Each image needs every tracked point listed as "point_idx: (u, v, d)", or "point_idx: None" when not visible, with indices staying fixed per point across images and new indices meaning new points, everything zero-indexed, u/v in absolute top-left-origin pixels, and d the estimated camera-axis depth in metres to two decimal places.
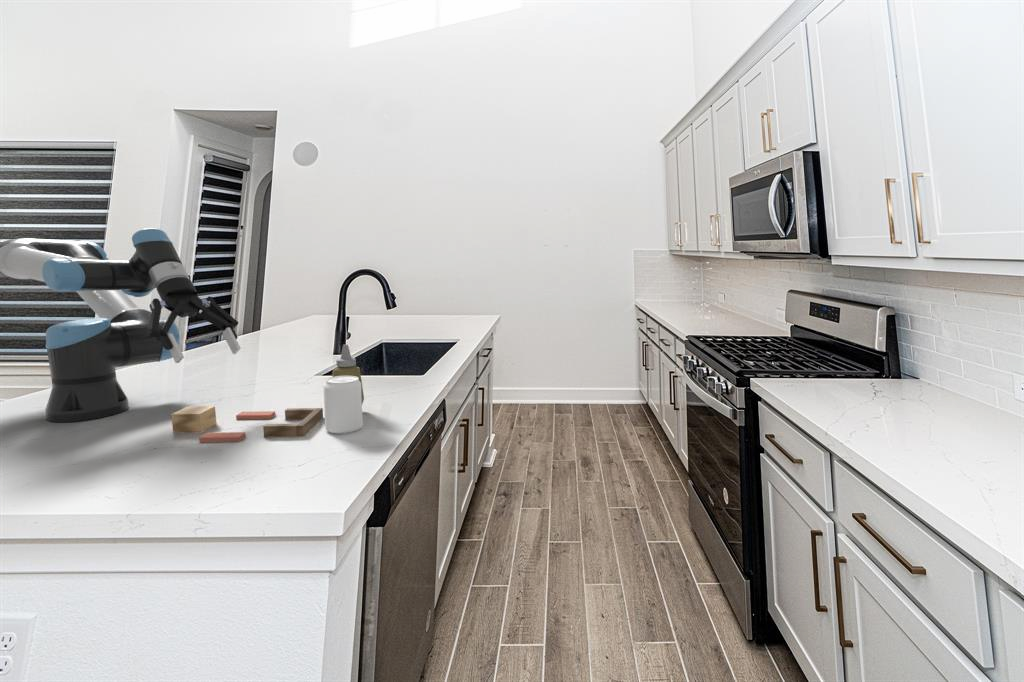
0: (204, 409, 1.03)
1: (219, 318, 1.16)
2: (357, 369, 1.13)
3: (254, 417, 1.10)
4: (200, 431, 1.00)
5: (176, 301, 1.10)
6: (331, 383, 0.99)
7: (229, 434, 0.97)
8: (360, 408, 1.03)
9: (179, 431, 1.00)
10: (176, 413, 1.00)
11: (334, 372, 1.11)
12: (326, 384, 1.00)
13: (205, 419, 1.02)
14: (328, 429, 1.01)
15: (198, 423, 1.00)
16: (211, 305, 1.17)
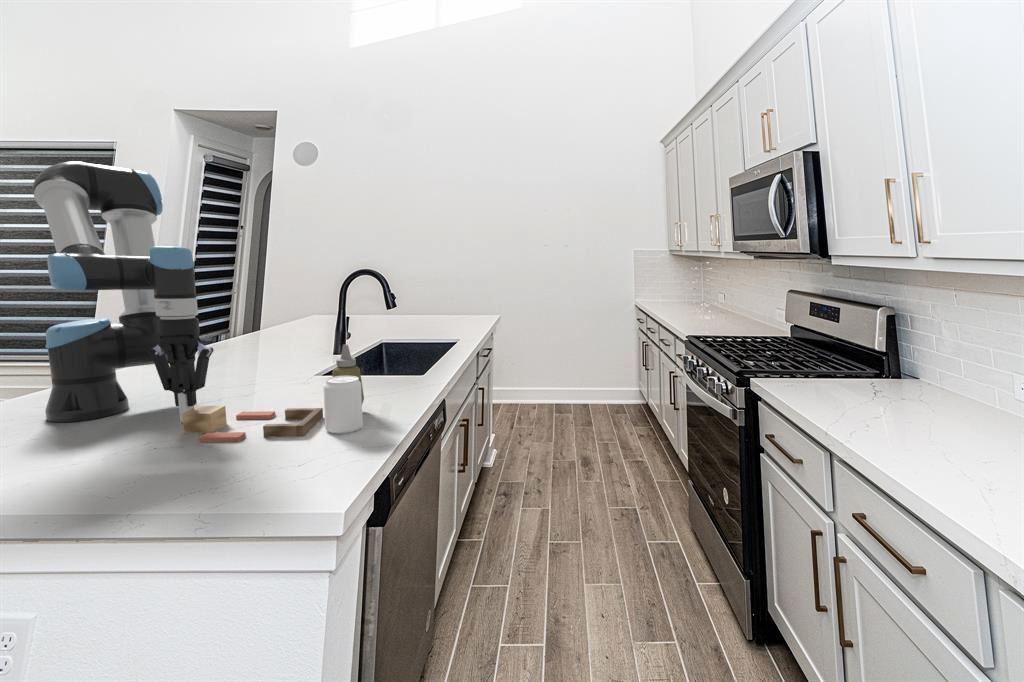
0: (215, 408, 1.03)
1: (186, 377, 1.00)
2: (357, 369, 1.13)
3: (254, 417, 1.10)
4: (211, 431, 1.00)
5: (166, 341, 0.98)
6: (331, 383, 0.99)
7: (229, 434, 0.97)
8: (360, 408, 1.03)
9: (190, 431, 1.00)
10: (187, 413, 1.00)
11: (334, 372, 1.11)
12: (326, 384, 1.00)
13: (215, 419, 1.02)
14: (328, 429, 1.01)
15: (209, 422, 1.00)
16: None
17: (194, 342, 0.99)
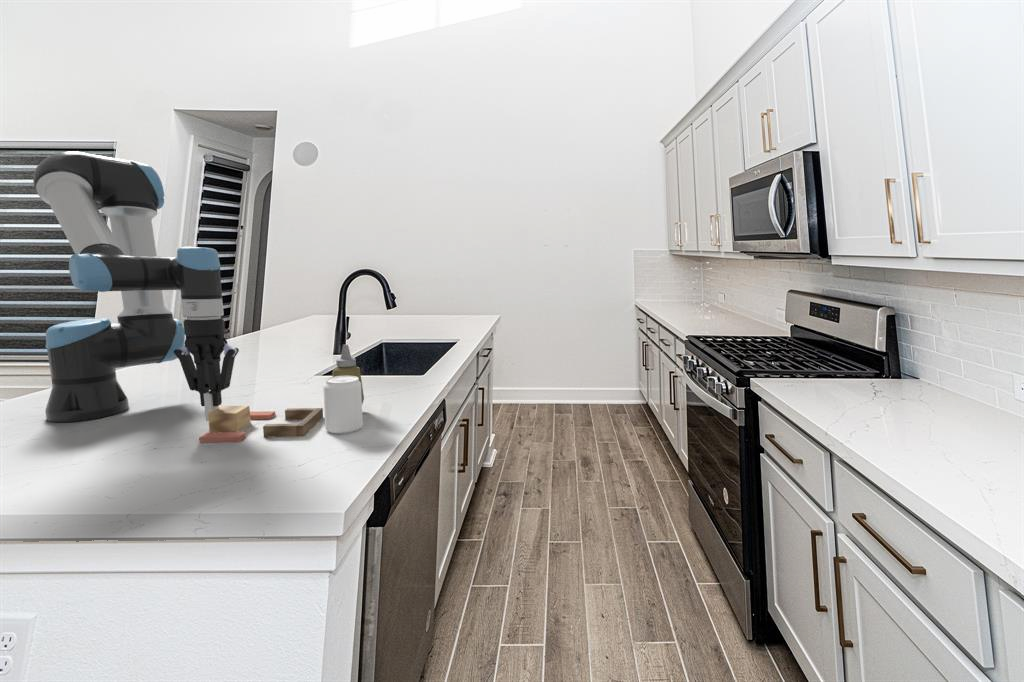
0: (239, 408, 1.04)
1: (212, 377, 1.00)
2: (357, 369, 1.13)
3: (254, 417, 1.10)
4: (236, 430, 1.01)
5: (192, 341, 0.99)
6: (331, 383, 0.99)
7: (229, 434, 0.97)
8: (360, 408, 1.03)
9: (215, 430, 1.00)
10: (212, 412, 1.00)
11: (334, 372, 1.11)
12: (326, 384, 1.00)
13: (240, 419, 1.02)
14: (328, 429, 1.01)
15: (234, 422, 1.00)
16: None
17: (220, 342, 0.99)
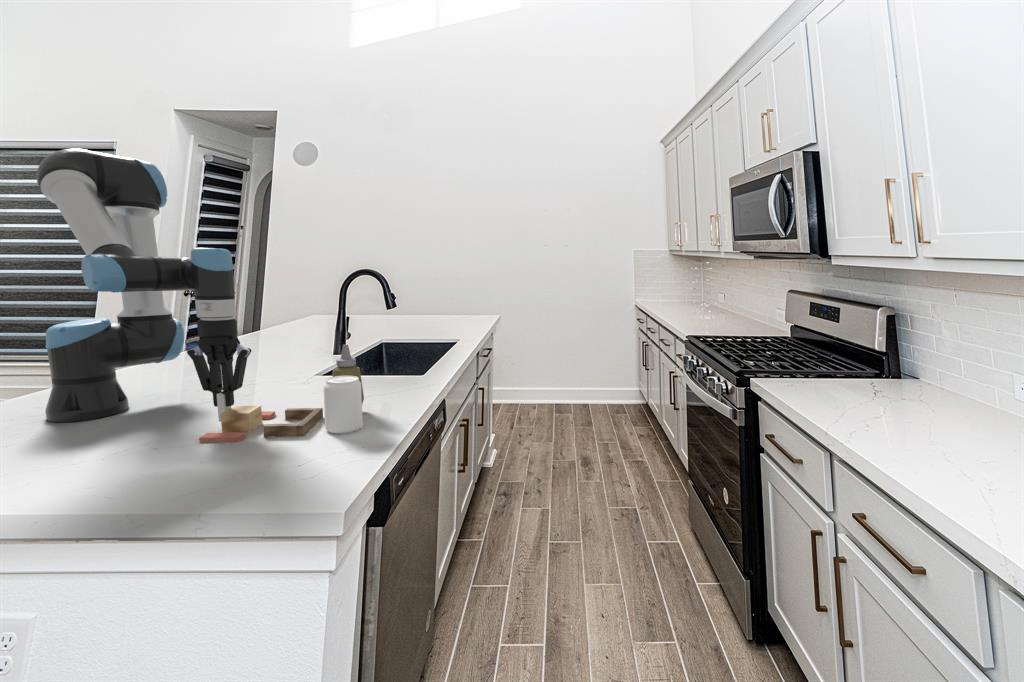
0: (251, 408, 1.04)
1: (225, 378, 1.01)
2: (357, 369, 1.13)
3: None
4: (249, 430, 1.01)
5: (205, 341, 0.99)
6: (331, 383, 0.99)
7: (229, 434, 0.97)
8: (360, 408, 1.03)
9: (228, 430, 1.01)
10: (225, 412, 1.01)
11: (334, 372, 1.11)
12: (326, 384, 1.00)
13: (253, 419, 1.03)
14: (328, 429, 1.01)
15: (247, 422, 1.01)
16: None
17: (233, 343, 1.00)
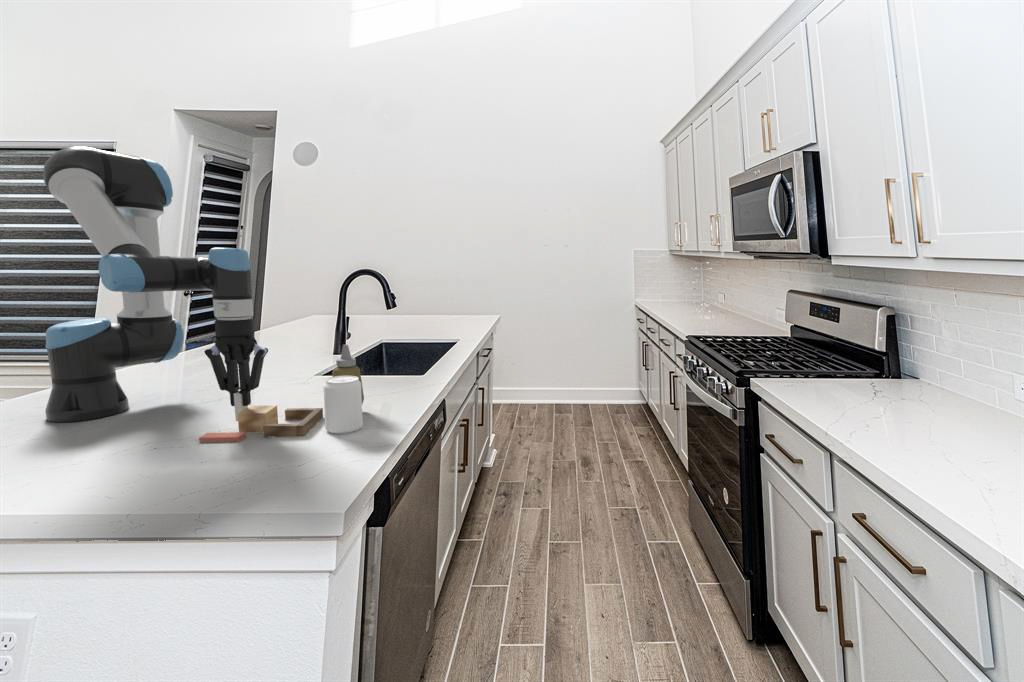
0: (268, 408, 1.04)
1: (242, 377, 1.01)
2: (357, 369, 1.13)
3: None
4: None
5: (223, 341, 0.99)
6: (331, 383, 0.99)
7: (229, 434, 0.97)
8: (360, 408, 1.03)
9: (245, 430, 1.01)
10: (242, 412, 1.01)
11: (334, 372, 1.11)
12: (326, 384, 1.00)
13: (269, 419, 1.03)
14: (328, 429, 1.01)
15: (264, 422, 1.01)
16: None
17: (250, 343, 1.00)
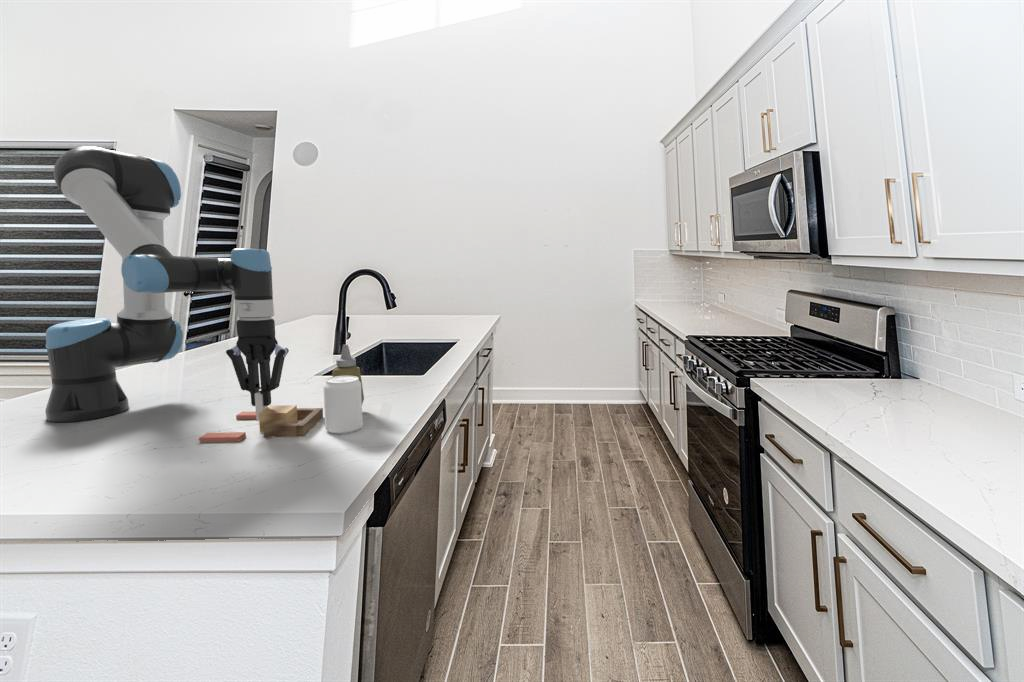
0: (288, 408, 1.04)
1: (263, 377, 1.01)
2: (357, 369, 1.13)
3: (254, 417, 1.10)
4: None
5: (244, 341, 1.00)
6: (331, 383, 0.99)
7: (229, 434, 0.97)
8: (360, 408, 1.03)
9: None
10: (263, 412, 1.01)
11: (334, 372, 1.11)
12: (326, 384, 1.00)
13: (290, 419, 1.03)
14: (328, 429, 1.01)
15: (285, 422, 1.01)
16: None
17: (272, 343, 1.00)
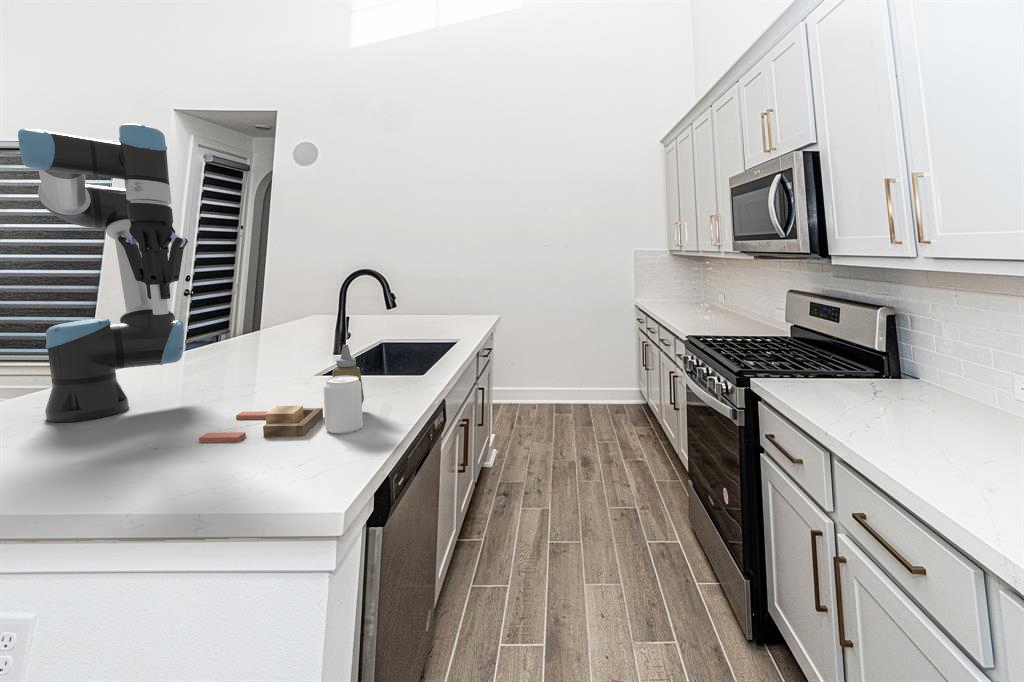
0: (294, 408, 1.05)
1: (159, 267, 0.96)
2: (357, 369, 1.13)
3: (254, 417, 1.10)
4: None
5: (137, 228, 0.95)
6: (331, 383, 0.99)
7: (229, 434, 0.97)
8: (360, 408, 1.03)
9: None
10: (270, 413, 1.01)
11: (334, 372, 1.11)
12: (326, 384, 1.00)
13: (296, 419, 1.03)
14: (328, 429, 1.01)
15: (291, 422, 1.01)
16: None
17: (167, 230, 0.95)
